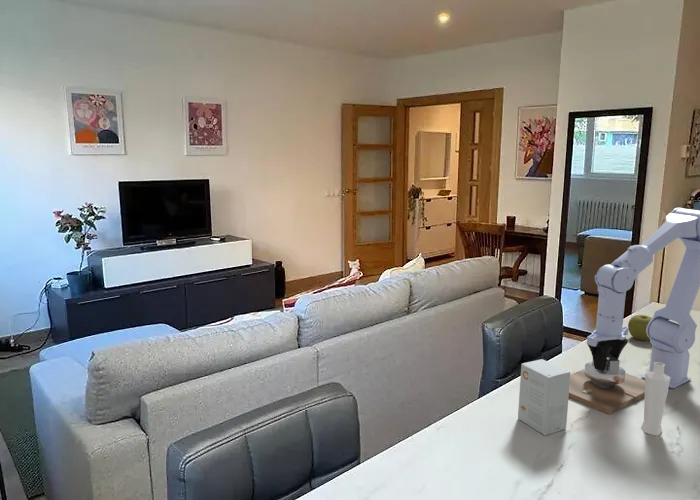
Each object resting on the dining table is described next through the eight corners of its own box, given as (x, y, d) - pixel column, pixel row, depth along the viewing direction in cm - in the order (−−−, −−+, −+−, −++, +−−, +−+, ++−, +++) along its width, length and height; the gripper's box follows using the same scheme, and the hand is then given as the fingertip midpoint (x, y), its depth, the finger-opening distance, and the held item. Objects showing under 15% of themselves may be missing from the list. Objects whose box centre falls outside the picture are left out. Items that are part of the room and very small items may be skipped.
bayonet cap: (577, 369, 135) (578, 349, 134) (609, 367, 136) (612, 347, 135) (602, 389, 124) (604, 366, 123) (638, 386, 125) (640, 364, 124)
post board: (597, 367, 144) (598, 357, 144) (659, 389, 131) (660, 378, 130) (547, 388, 132) (548, 376, 131) (609, 414, 119) (611, 402, 118)
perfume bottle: (667, 437, 110) (676, 369, 107) (644, 435, 110) (652, 367, 108) (659, 426, 114) (667, 360, 111) (637, 424, 115) (645, 358, 112)
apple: (660, 343, 162) (663, 320, 161) (634, 343, 162) (636, 320, 161) (647, 334, 169) (649, 313, 168) (622, 334, 170) (624, 313, 168)
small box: (566, 429, 113) (571, 371, 110) (544, 436, 110) (549, 377, 108) (538, 412, 120) (542, 358, 118) (516, 418, 117) (520, 363, 115)
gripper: (609, 324, 121) (603, 380, 123) (642, 313, 129) (636, 366, 131) (580, 316, 126) (576, 370, 129) (614, 306, 134) (609, 357, 137)
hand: (604, 367), depth 130 cm, fingers closed on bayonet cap, 4 cm apart
